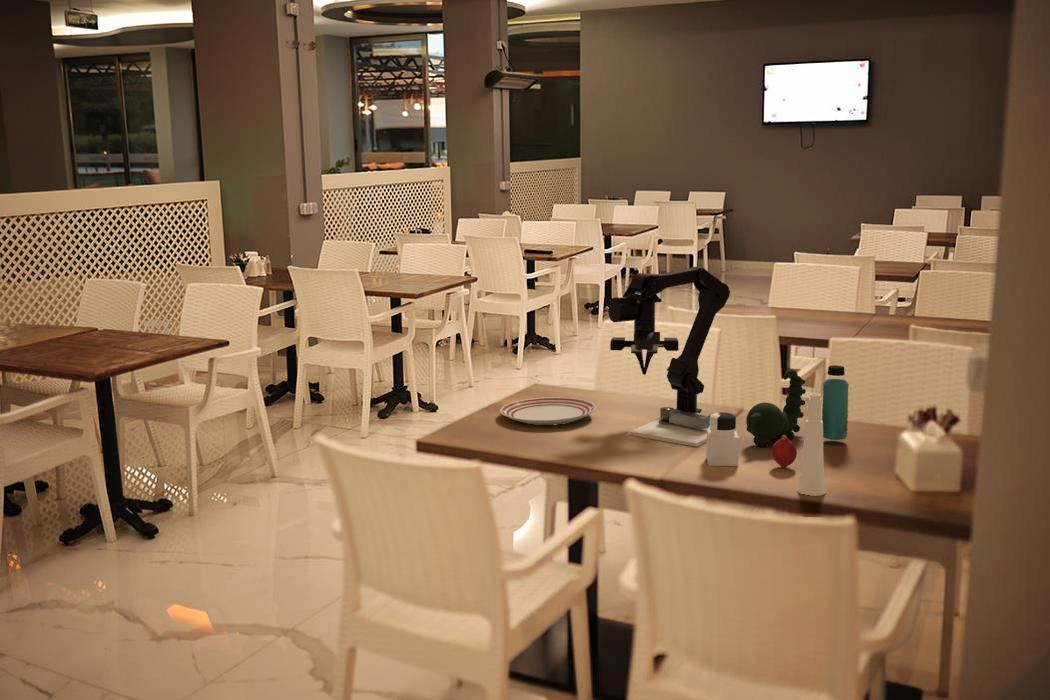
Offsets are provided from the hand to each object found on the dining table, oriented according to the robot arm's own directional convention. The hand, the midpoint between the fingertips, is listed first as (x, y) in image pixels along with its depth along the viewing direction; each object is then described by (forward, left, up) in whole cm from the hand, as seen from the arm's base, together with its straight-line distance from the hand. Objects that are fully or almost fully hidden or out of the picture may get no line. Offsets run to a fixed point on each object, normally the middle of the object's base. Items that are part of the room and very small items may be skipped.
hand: (644, 374), depth 283 cm
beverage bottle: (-7, +52, -13) cm, 54 cm away
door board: (+7, +15, -13) cm, 21 cm away
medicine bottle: (+24, +36, -13) cm, 45 cm away
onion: (+20, +50, -13) cm, 55 cm away
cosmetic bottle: (+33, +62, -13) cm, 71 cm away
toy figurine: (0, +39, -13) cm, 41 cm away
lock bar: (+4, +15, -11) cm, 19 cm away
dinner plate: (+13, -24, -14) cm, 30 cm away
